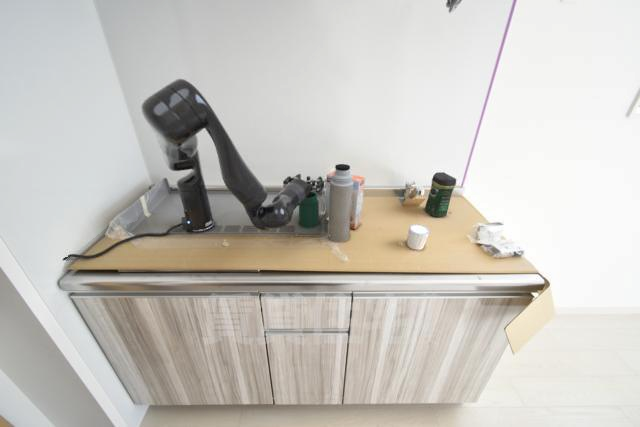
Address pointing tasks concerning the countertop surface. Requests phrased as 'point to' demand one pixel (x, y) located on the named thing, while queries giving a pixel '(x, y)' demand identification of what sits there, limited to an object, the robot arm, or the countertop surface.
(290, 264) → the countertop surface
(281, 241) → the countertop surface
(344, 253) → the countertop surface
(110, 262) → the countertop surface
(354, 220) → the cracker box
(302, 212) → the green bottle
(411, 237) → the white ribbed cup
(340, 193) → the thermos bottle
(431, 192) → the coffee jar
